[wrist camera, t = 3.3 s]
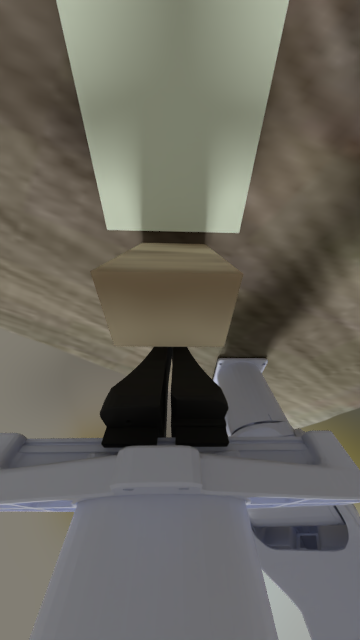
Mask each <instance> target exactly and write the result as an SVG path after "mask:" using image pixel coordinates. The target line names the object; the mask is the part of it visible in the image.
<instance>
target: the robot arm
mask: <svg viewBox="0 0 360 640" xmlns="http://www.w3.org/2000/svg"><path fill="white" fill-rule="evenodd" d="M171 359H172V364H173V367H172V383H171V433H172V438H166V422H167V399H168V381H169V373H170V366H171ZM267 363H268V360H267V359H266V358H219V359H218V361H217V365H216V369H215V373H214V377H213V380H212V379H211V378H210V377H209V376H208V375H207V374H206V373H205V372H204V370H203V369H202V368H201V367H200V366H199V365H198V363H197V362H196V361H195V359H194V358H193V356H192V355H191V353H190V351H189V350H188V348H187V347H154V348H153V349H152V350H151V352H150V353H149V354H148V356H147V357H146V358H145V359H144V360H143V361H142V362H141V363H140V364H139V365H138V366H137V367H136V368H135V369H134V370H133V371H132V372H131V373H130V374H129V375H128V376H126V377H125V378H124V379H123V380H122V381H120V382H119V383H117V384H116V385H115V386H114V387H112V388H111V390H110V392H109V393H108V395H107V397H106V399H105V402H104V404H103V406H102V409H101V411H100V417H101V419H102V420H103V422H104V423H105V425H106V426H107V428H106V431H105V434H104V437H103V438H63V439H62V438H58V439H57V438H56V439H55V438H51V439H27V438H26V437H25V436H24V435H21V434H18V433H0V511H40V512H41V511H42V512H47V511H49V512H74V515H73V518H72V521H71V524H70V526H69V529H68V532H67V535H66V538H65V540H64V543H63V546H62V549H61V552H60V554H59V558H58V560H57V563H56V566H55V569H54V571H53V574H52V577H51V580H50V582H49V585H48V588H47V591H46V594H45V597H44V599H43V602H42V605H41V608H40V610H39V613H38V616H37V619H36V622H35V624H34V627H33V630H32V633H31V635H30V638H29V640H278V636H277V632H276V628H275V624H274V620H273V615H272V611H271V607H270V603H269V599H268V595H267V591H266V586H265V582H264V578H263V574H262V570H263V571H264V572H265V573H266V574H267V576H268V577H269V578H270V579H271V580H272V581H273V582H274V583H275V584H276V585H277V586H278V587H279V588H280V589H281V590H282V592H283V593H284V594H285V595H286V596H287V597H288V598H289V599H290V600H291V601H292V602H293V603H294V605H295V606H296V607H297V608H298V609H299V610H300V612H301V614H302V615H303V618H304V621H305V623H306V626H307V628H308V631H309V634H310V637H311V639H312V640H360V516H359V513H358V512H357V510H356V508H355V506H354V505H353V503H359V502H360V470H359V469H358V467H357V466H356V464H355V463H354V462H353V460H352V459H351V458H350V456H349V455H348V454H347V452H346V451H345V450H344V448H343V447H342V445H341V444H340V443H339V442H338V440H337V439H336V437H335V436H334V435H333V433H332V432H331V431H308V432H304V431H302V430H301V429H300V428H298V429H295V430H294V429H293V428H292V426H291V425H290V424H289V422H288V420H287V418H286V416H285V415H284V413H283V411H282V409H281V407H280V406H279V404H278V402H277V400H276V398H275V397H274V395H273V393H272V391H271V389H270V388H269V386H268V384H267V382H266V380H265V379H264V377H263V375H262V372H263V370H264V368H265V366H266V364H267ZM227 434H228V435H227ZM228 436H229V437H228ZM261 569H262V570H261Z"/></svg>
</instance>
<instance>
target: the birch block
mask: <svg viewBox="0 0 360 640" xmlns="http://www.w3.org/2000/svg"><path fill="white" fill-rule="evenodd" d="M90 272H91V275H92V278H93V281H94V284H95V287H96V290H97V294H98V297H99V300H100V303H101V306H102V309H103V312H104V315H105V318H106V321H107V325H108V328H109V331H110V334H111V337H112V340H113V343H114V346H152V347H224V345H225V341H226V338H227V334H228V330H229V326H230V323H231V319H232V315H233V311H234V308H235V304H236V300H237V296H238V293H239V289H240V285H241V281H242V278H243V273H241V272H240V271H239V270H238V269H236V268H235V267H234V266H232V265H231V264H230V263H229V262H227V261H226V260H225V259H223V258H222V257H221V256H219V255H218V254H217V253H216V252H214V251H213V250H212V249H210V248H209V247H208V246H207V245H205V244H181V243H141V244H139V245H138V246H136V247H134V248H132V249H130V250H129V251H127V252H125V253H123V254H121V255H119V256H118V257H116V258H114V259H112V260H110V261H108V262H107V263H105V264H103V265H101V266H99V267H97V268H96V269H94V270H92V271H90Z"/></svg>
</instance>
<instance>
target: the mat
mask: <svg viewBox="0 0 360 640" xmlns="http://www.w3.org/2000/svg"><path fill="white" fill-rule="evenodd" d="M56 2H57V6H58V11H59V15H60V20H61V24H62V29H63V33H64V38H65V42H66V47H67V51H68V56H69V60H70V64H71V69H72V73H73V78H74V82H75V87H76V91H77V96H78V100H79V105H80V109H81V114H82V118H83V123H84V127H85V132H86V136H87V141H88V145H89V150H90V154H91V159H92V163H93V168H94V172H95V177H96V181H97V186H98V190H99V195H100V199H101V204H102V208H103V213H104V217H105V222H106V226H107V230H135V231H178V232H220V233H239V231H240V226H241V221H242V217H243V212H244V207H245V203H246V198H247V193H248V189H249V184H250V179H251V175H252V170H253V165H254V161H255V156H256V151H257V147H258V142H259V137H260V133H261V128H262V124H263V119H264V114H265V110H266V105H267V100H268V96H269V91H270V86H271V82H272V77H273V72H274V68H275V63H276V58H277V54H278V49H279V44H280V40H281V35H282V30H283V26H284V21H285V16H286V12H287V7H288V2H289V0H56Z"/></svg>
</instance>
